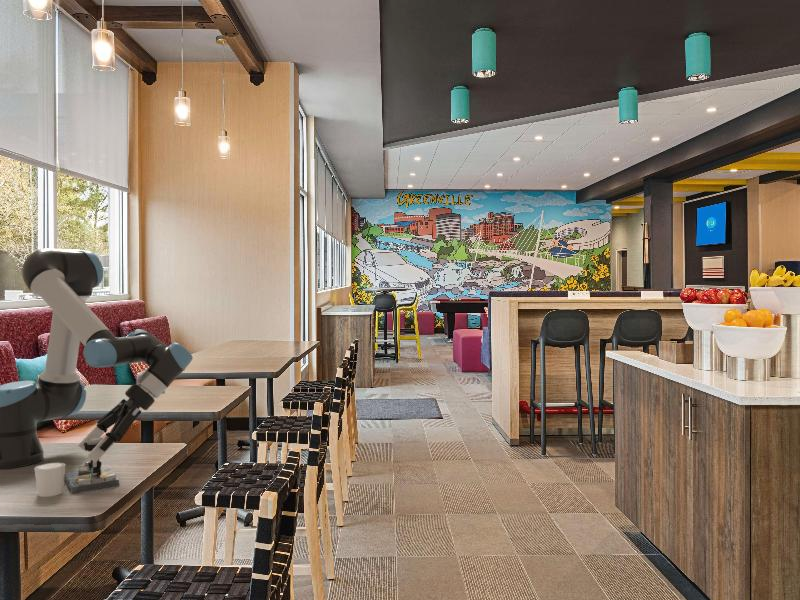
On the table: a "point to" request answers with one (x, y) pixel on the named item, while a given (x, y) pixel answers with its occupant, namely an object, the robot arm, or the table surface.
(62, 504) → the table surface
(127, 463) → the table surface
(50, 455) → the table surface
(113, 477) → the carrier plate
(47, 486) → the white tapered cup
